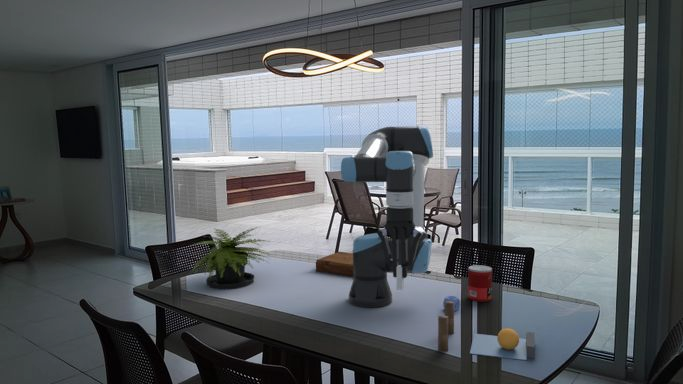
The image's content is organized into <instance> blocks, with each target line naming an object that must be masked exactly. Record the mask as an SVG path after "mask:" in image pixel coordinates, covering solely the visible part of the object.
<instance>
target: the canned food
mask: <svg viewBox="0 0 683 384" xmlns="http://www.w3.org/2000/svg"><path fill="white" fill-rule="evenodd" d="M467 273H468V274H467V288H468V289H467V296H468V299H469V300H471V301H473V302H479V303H480V302H481V303H483V302H486V303H487V302H490V301H491V300H492V297H493V295H492V293H493V292H492V291H493V268H492V267H491V266H487V265H480V264H474V265H470V266H468V271H467Z"/></svg>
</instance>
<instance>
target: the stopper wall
mask: <svg viewBox="0 0 683 384" xmlns="http://www.w3.org/2000/svg"><path fill="white" fill-rule="evenodd" d="M525 334H526V335H525V337H526V338H525V339H526V354H527V358H528V359H535V358H536V341H535V340H536V339H535V332H531V331H526V333H525Z"/></svg>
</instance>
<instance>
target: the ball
mask: <svg viewBox="0 0 683 384" xmlns="http://www.w3.org/2000/svg"><path fill="white" fill-rule="evenodd" d="M497 336H498V337H497V340H498V343H499V345H500V346H501V347H502V348H504V349H506V350H512V349H514V348H516V347H517V345H518V343H519V338H520V337H519V334H518V332H516V330H514V329H512V328H503V329H501V330H500V331H499V332H498V333H497Z"/></svg>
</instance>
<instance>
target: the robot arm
mask: <svg viewBox="0 0 683 384" xmlns="http://www.w3.org/2000/svg"><path fill="white" fill-rule="evenodd" d="M433 157H434V152H433V143H432V133H431V130H430V128H429V126H425V125H423V126H421V125H415V126H414V125H411V126H385V127H383V128H378V129H376V130H375V131H371V132H370V133H369V134H368V135H366V136H365V138H364V139H363V141H362V143H361V148H360V149H359V150H358V151H357V153H356V155H355V156H348V157H343V158H342V159H341V161H340V162H341V164H340V176H341V179H342V181H343V182H346V183H347V182H348V183H353V184H355V183H385V185H386V186H385V188H386V191H385V199H386V200H385V202H386V204H385V205H387V207H386V208H385V210H386V212H385V214H386V217H385V219H386V221H385V224H384V227H383V228H381V229H379V230H377V232H375V233H368V234H362V235H360V236H357V237H356V238H354V240H353V242H352V252H351V253H353V277H352V279H353V280H352V283H351V286H350V289H349V293H348V302H349V304H351V305H352V306H353V305H354V306H357V307H360V308H380V307H385V306H388V305H390V304H391V303H393V293H392V290H391V287H390V285H389V281H388V273H391V274H392V276H393V278H396V290H398V291H402V290H404V289H405V288H404V287H405V279H406V278H407V277H408V274H412V275H415V274H425V273H426V272H427V271H428V270H429V267H430V262H431V261H430V260H431V256H432V255H431V254H432V245H433V241H432V239H431V238H428V233H427V232H426V230H424V219H425V218H424V215H425V214H424V212H425V211H424V210H425V209H424V208H425V207H424V206H425V167H426V166H427V165H428V164H429V162H430V159H432V158H433ZM387 234H388V235H389V236H390V237H391V238H390V237H389V238H388V236H387Z"/></svg>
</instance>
